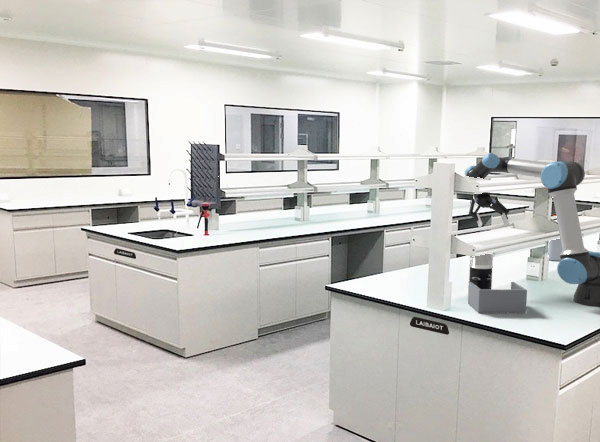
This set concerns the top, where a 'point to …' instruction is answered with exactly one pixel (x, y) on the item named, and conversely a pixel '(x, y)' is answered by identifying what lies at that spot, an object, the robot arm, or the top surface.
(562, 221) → the robot arm
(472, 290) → the box
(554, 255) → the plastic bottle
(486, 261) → the silver and black canister
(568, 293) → the top surface
